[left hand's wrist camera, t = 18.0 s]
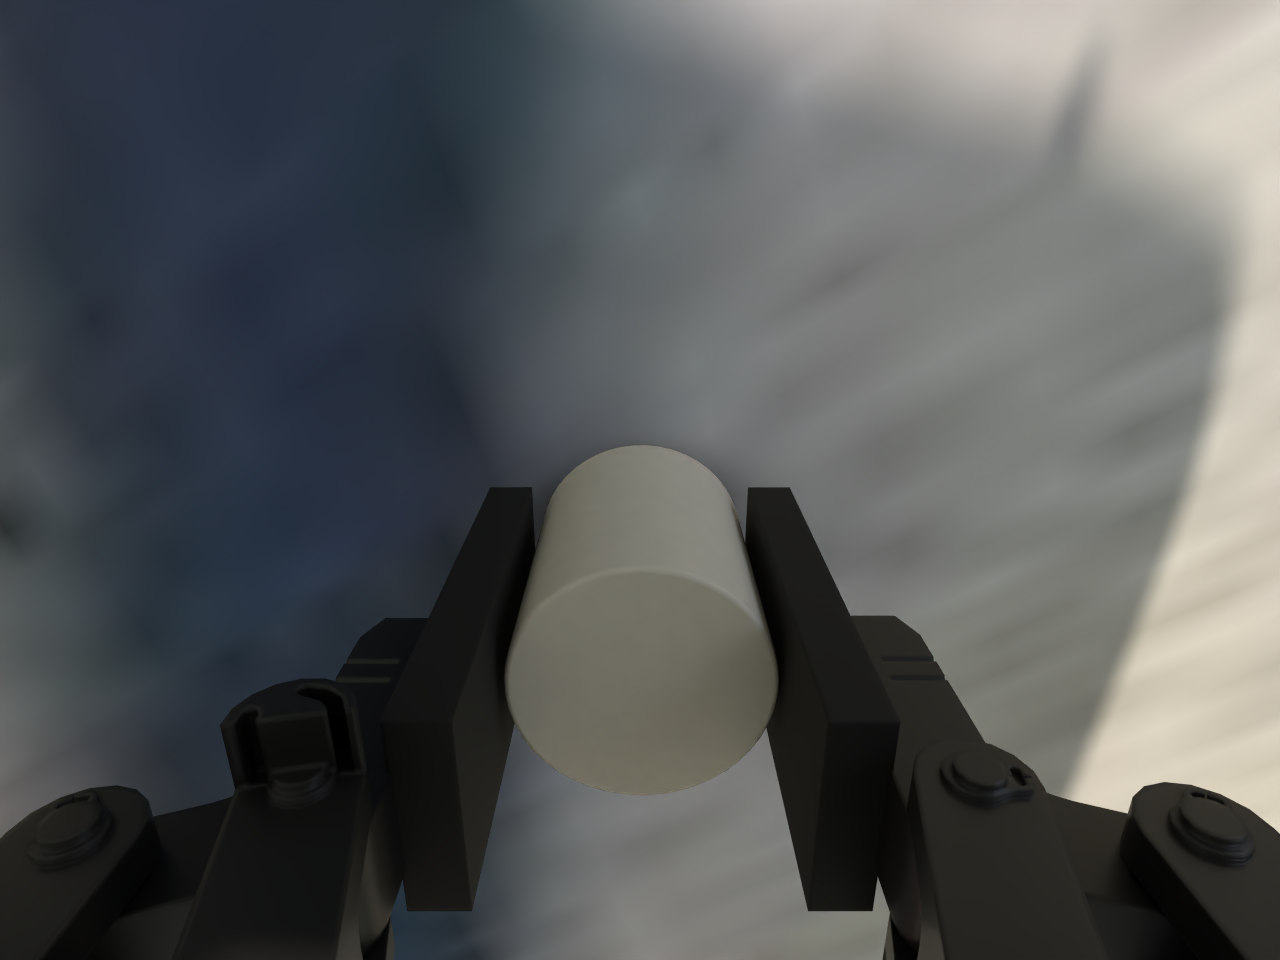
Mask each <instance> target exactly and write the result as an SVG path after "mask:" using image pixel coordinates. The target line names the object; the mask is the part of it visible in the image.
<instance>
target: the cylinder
mask: <svg viewBox="0 0 1280 960" xmlns="http://www.w3.org/2000/svg"><path fill="white" fill-rule="evenodd" d="M504 684H505V695H506V699H507V703H508V708H509V710H510V713H511V715H512V718H513V720H514V723H515V725H516V727H517V728H518V730H519V732H520V733H521V735H522V737H523V738H524V740H525V741H526V742H527V743H528V745H529V746H530V747H531V749H532V750H533V751H534V752H535V753H536V754H537V755H538V756H539V757H540V758H541V759H543V760H544V761H545V762H546V763H548V764H549V765H550V766H552V767H553V768H554V769H555V770H557V771H559V772H560V773H562V774H564V775H566V776H567V777H569V778H571V779H573V780H576V781H578V782H580V783H582V784H585V785H588V786H591V787H594V788H597V789H600V790H605V791H610V792H614V793H622V794H631V795H651V794H661V793H668V792H673V791H678V790H683V789H686V788H689V787H692V786H695V785H698V784H701V783H703V782H705V781H707V780H710V779H712V778H714V777H716V776H717V775H719V774H721V773H723V772H724V771H726V770H727V769H729V768H730V767H731V766H733V765H734V764H735V763H737V762H738V761H739V760H740V759H741V758H742V757H744V756H745V755H746V754H747V753H748V752H749V751H750V750H751V748H752V747H753V746H754V745H755V743H756V742H757V741H758V740H759V738H760V737H761V735H762V734H763V732H764V730H765V728H766V727H767V725H768V723H769V720H770V718H771V715H772V713H773V711H774V708H775V704H776V700H777V696H778V686H779V671H778V662H777V658H776V654H775V649H774V646H773V642H772V639H771V635H770V631H769V628H768V624H767V621H766V617H765V613H764V610H763V606H762V603H761V599H760V595H759V592H758V588H757V585H756V581H755V577H754V574H753V570H752V567H751V563H750V559H749V556H748V552H747V549H746V545H745V541H744V538H743V534H742V531H741V527H740V523H739V520H738V516H737V513H736V509H735V507H734V504H733V502H732V499H731V497H730V495H729V494H728V492H727V490H726V488H725V487H724V486H723V484H722V483H721V482H720V480H719V479H718V478H717V477H716V476H715V475H714V474H713V473H712V472H711V471H710V470H709V469H708V468H706V467H705V466H704V465H702V464H701V463H699V462H698V461H696V460H695V459H693V458H691V457H689V456H687V455H685V454H682V453H680V452H677V451H675V450H671V449H667V448H663V447H658V446H650V445H633V446H624V447H619V448H615V449H611V450H607V451H605V452H602V453H600V454H597V455H595V456H593V457H591V458H589V459H588V460H586V461H584V462H583V463H581V464H580V465H579V466H577V467H576V468H575V469H573V470H572V471H571V472H570V473H569V474H568V475H567V476H566V477H565V478H564V480H563V481H562V482H561V483H560V485H559V486H558V487H557V489H556V490H555V492H554V494H553V496H552V497H551V500H550V502H549V504H548V507H547V510H546V513H545V517H544V521H543V525H542V528H541V532H540V536H539V539H538V543H537V547H536V550H535V554H534V558H533V562H532V565H531V569H530V573H529V576H528V580H527V584H526V588H525V591H524V595H523V599H522V602H521V606H520V610H519V613H518V617H517V621H516V625H515V628H514V632H513V636H512V639H511V643H510V647H509V651H508V655H507V659H506V663H505V673H504Z"/></svg>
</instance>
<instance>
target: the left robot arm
mask: <svg viewBox="0 0 1280 960" xmlns="http://www.w3.org/2000/svg"><path fill="white" fill-rule="evenodd" d="M745 545H746V549H747V552H748V556H749V559H750V563H751V567H752V570H753V574H754V577H755V581H756V585H757V588H758V592H759V595H760V599H761V603H762V606H763V610H764V613H765V617H766V621H767V624H768V628H769V631H770V635H771V639H772V642H773V646H774V649H775V654H776V658H777V662H778V671H779V686H778V696H777V700H776V704H775V708H774V711H773V713H772V715H771V718H770V720H769V723H768V725H767V727H766V728H767V732H768V737H769V741H770V746H771V750H772V754H773V759H774V763H775V768H776V772H777V776H778V781H779V785H780V790H781V794H782V798H783V803H784V807H785V812H786V816H787V820H788V825H789V829H790V834H791V838H792V842H793V847H794V851H795V856H796V860H797V864H798V869H799V873H800V878H801V882H802V886H803V891H804V895H805V900H806V904H807V908H808V911H873V904H874V897H875V891H876V884H877V877H878V878H879V881H880V884H881V887H882V890H883V893H884V896H885V899H886V902H887V905H888V908H889V911H890V916H889V922H888V928H887V935H886V941H885V947H884V953H883V960H1280V834H1279V833H1278V832H1277V831H1276V830H1275V829H1274V828H1273V827H1271V826H1270V825H1269V824H1268V823H1266V822H1265V821H1264V820H1263V819H1261V818H1260V817H1259V816H1257V815H1256V814H1255V813H1254V812H1252V811H1251V810H1250V809H1248V808H1246V807H1244V806H1242V805H1240V804H1238V803H1236V802H1234V801H1232V800H1231V799H1229V798H1227V797H1225V796H1223V795H1221V794H1218V793H1215V792H1212V791H1209V790H1205V789H1202V788H1199V787H1196V786H1193V785H1187V784H1177V783H1168V782H1163V783H1158V784H1153V785H1148V786H1144V787H1143V788H1142V789H1141V790H1140V791H1139V792H1138V793H1137V794H1135V795H1134V796H1133V798H1132V801H1131V805H1130V808H1129V812H1128V814H1127V813H1122V812H1118V811H1114V810H1109V809H1105V808H1101V807H1096V806H1092V805H1088V804H1083V803H1079V802H1074V801H1071V800H1067V799H1064V798H1061V797H1057V796H1054V795H1051V794H1049V793H1046V790H1045V788H1044V787H1043V785H1042V784H1041V782H1040V780H1039V779H1038V777H1037V776H1036V774H1035V773H1034V771H1033V770H1031V769H1030V768H1029V767H1028V766H1027V765H1025V764H1024V763H1023V762H1022V761H1020V760H1019V759H1018V758H1017V757H1015V756H1014V755H1012V754H1010V753H1008V752H1006V751H1004V750H1002V749H1000V748H997V747H995V746H993V745H991V744H987V743H985V742H984V740H983V738H982V737H981V735H980V733H979V732H978V730H977V728H976V727H975V725H974V723H973V722H972V720H971V718H970V717H969V715H968V713H967V712H966V710H965V708H964V707H963V705H962V703H961V702H960V700H959V699H958V697H957V695H956V694H955V692H954V690H953V689H952V687H951V685H950V684H949V682H948V680H945V678H944V677H945V675H944V674H943V672H942V670H941V669H940V667H939V665H938V664H937V662H936V661H934V660H933V656H932V654H931V652H930V651H929V649H928V647H927V646H926V644H925V642H924V641H923V639H922V637H921V636H920V635H919V634H918V633H917V632H915V631H914V630H913V629H911V628H910V627H909V626H908V625H906V624H905V623H904V622H902V621H901V620H900V619H898V618H897V617H896V616H850V614H849V612H848V610H847V608H846V605H845V603H844V601H843V599H842V597H841V595H840V593H839V591H838V589H837V586H836V584H835V582H834V580H833V578H832V576H831V574H830V572H829V570H828V567H827V565H826V563H825V561H824V559H823V557H822V555H821V553H820V551H819V548H818V546H817V544H816V542H815V540H814V538H813V536H812V534H811V532H810V529H809V527H808V525H807V523H806V521H805V519H804V517H803V515H802V513H801V511H800V508H799V506H798V504H797V502H796V500H795V498H794V496H793V494H792V492H791V489H790V487H748V500H747V519H746V537H745ZM534 554H535V537H534V519H533V501H532V487H490V489H489V491H488V494H487V496H486V498H485V500H484V502H483V504H482V506H481V508H480V510H479V513H478V515H477V517H476V519H475V521H474V523H473V525H472V527H471V529H470V532H469V534H468V536H467V538H466V540H465V542H464V544H463V546H462V548H461V551H460V553H459V555H458V557H457V559H456V561H455V563H454V565H453V567H452V569H451V572H450V574H449V576H448V578H447V580H446V582H445V584H444V586H443V588H442V591H441V593H440V595H439V597H438V599H437V601H436V603H435V605H434V607H433V610H432V612H431V614H430V616H429V618H385V619H384V620H383V621H381V622H380V623H379V624H377V625H376V626H375V627H373V628H372V629H371V630H369V631H368V632H367V633H365V634H364V635H363V636H361V637H360V639H359V640H358V642H357V644H356V645H355V647H354V649H353V650H352V652H351V654H350V655H349V657H348V659H347V664H344V665H343V667H342V669H341V670H340V672H339V674H338V675H337V677H336V682H335V681H332V680H328V679H298V680H294V681H289V682H285V683H280V684H276V685H274V686H271V687H269V688H267V689H264V690H262V691H259V692H257V693H255V694H252V695H251V696H250V697H248V698H247V699H245V700H244V701H243V702H241V703H240V704H238V705H237V706H236V707H234V708H233V709H232V710H231V711H230V712H229V714H228V715H227V716H226V718H225V719H224V720H223V722H222V723H221V724H220V727H221V731H222V736H223V740H224V744H225V748H226V752H227V756H228V761H229V765H230V769H231V773H232V777H233V781H234V786H235V792H234V794H233V796H232V797H230V798H227V799H224V800H220V801H217V802H214V803H210V804H207V805H202V806H198V807H194V808H189V809H185V810H181V811H176V812H172V813H168V814H163V815H159V816H155V817H153V815H152V812H151V808H150V805H149V801H148V800H147V799H146V798H145V797H144V796H143V795H142V794H141V793H140V792H139V791H138V790H136V789H131V788H126V787H122V786H117V785H116V786H106V787H97V788H89V789H86V790H83V791H80V792H77V793H74V794H70V795H67V796H64V797H61V798H59V799H57V800H55V801H53V802H51V803H49V804H47V805H46V806H44V807H42V808H40V809H38V810H36V811H34V812H32V813H31V814H29V815H28V816H27V817H26V818H24V819H23V820H22V821H20V822H19V823H18V824H17V825H15V826H14V827H13V828H12V829H10V830H9V831H8V832H7V833H6V834H5V835H4V836H3V837H2V838H1V839H0V960H394V951H395V943H394V936H393V928H392V922H391V916H390V915H391V912H392V909H393V906H394V903H395V900H396V897H397V894H398V891H399V888H400V885H401V882H402V879H403V884H404V891H405V898H406V904H407V911H472V908H473V904H474V899H475V895H476V891H477V886H478V882H479V877H480V873H481V869H482V864H483V860H484V855H485V851H486V847H487V842H488V838H489V833H490V829H491V825H492V820H493V816H494V811H495V807H496V803H497V798H498V794H499V789H500V785H501V781H502V776H503V772H504V768H505V763H506V759H507V754H508V750H509V746H510V741H511V737H512V732H513V728H514V724H515V723H514V720H513V718H512V715H511V713H510V710H509V708H508V703H507V699H506V695H505V684H504V673H505V663H506V659H507V655H508V651H509V647H510V643H511V639H512V636H513V632H514V628H515V625H516V621H517V617H518V613H519V610H520V606H521V602H522V599H523V595H524V591H525V588H526V584H527V580H528V576H529V573H530V569H531V565H532V562H533V558H534Z"/></svg>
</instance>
